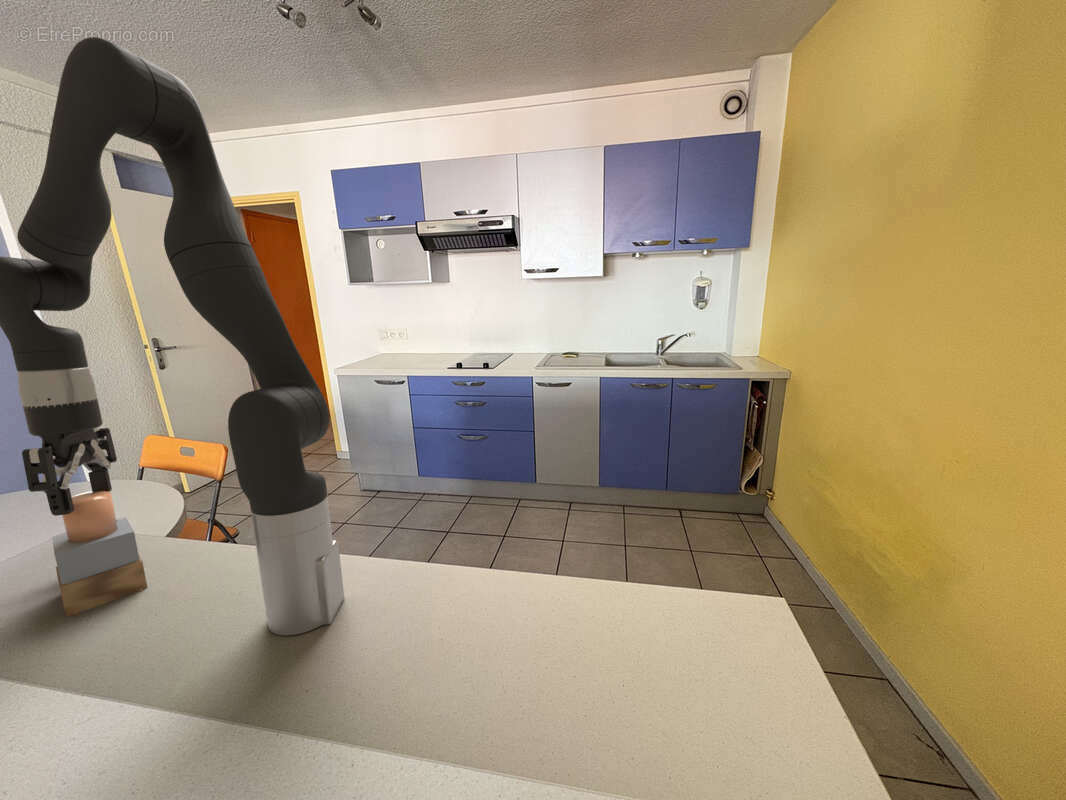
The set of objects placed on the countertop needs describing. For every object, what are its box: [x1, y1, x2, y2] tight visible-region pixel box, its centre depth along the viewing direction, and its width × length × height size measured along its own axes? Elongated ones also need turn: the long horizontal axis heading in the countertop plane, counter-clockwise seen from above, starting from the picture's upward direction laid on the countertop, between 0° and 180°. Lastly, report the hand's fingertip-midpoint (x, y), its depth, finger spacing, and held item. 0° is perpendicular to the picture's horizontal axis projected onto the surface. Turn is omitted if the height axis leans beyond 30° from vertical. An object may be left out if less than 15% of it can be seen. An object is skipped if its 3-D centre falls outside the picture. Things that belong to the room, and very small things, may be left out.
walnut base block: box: [55, 555, 148, 618], centre depth 68 cm, size 9×9×5 cm
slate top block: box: [51, 517, 140, 585], centre depth 68 cm, size 8×8×5 cm
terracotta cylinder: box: [61, 491, 118, 543], centre depth 67 cm, size 6×6×6 cm
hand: (84, 502), depth 66 cm, fingers open, 8 cm apart
